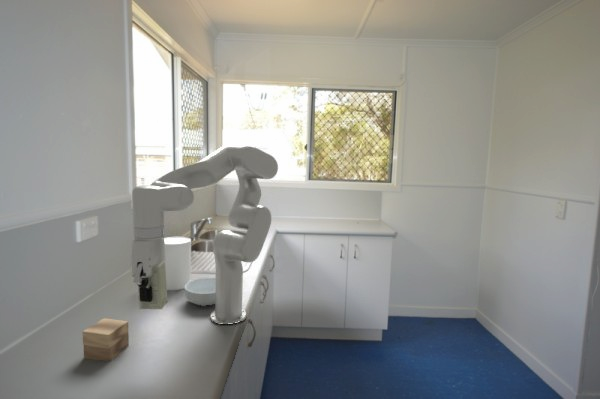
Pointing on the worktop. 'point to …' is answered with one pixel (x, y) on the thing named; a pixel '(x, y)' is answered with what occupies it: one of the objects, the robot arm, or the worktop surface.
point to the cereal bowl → (201, 291)
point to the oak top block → (105, 333)
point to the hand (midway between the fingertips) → (151, 296)
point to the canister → (177, 262)
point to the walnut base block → (106, 350)
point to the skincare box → (156, 289)
